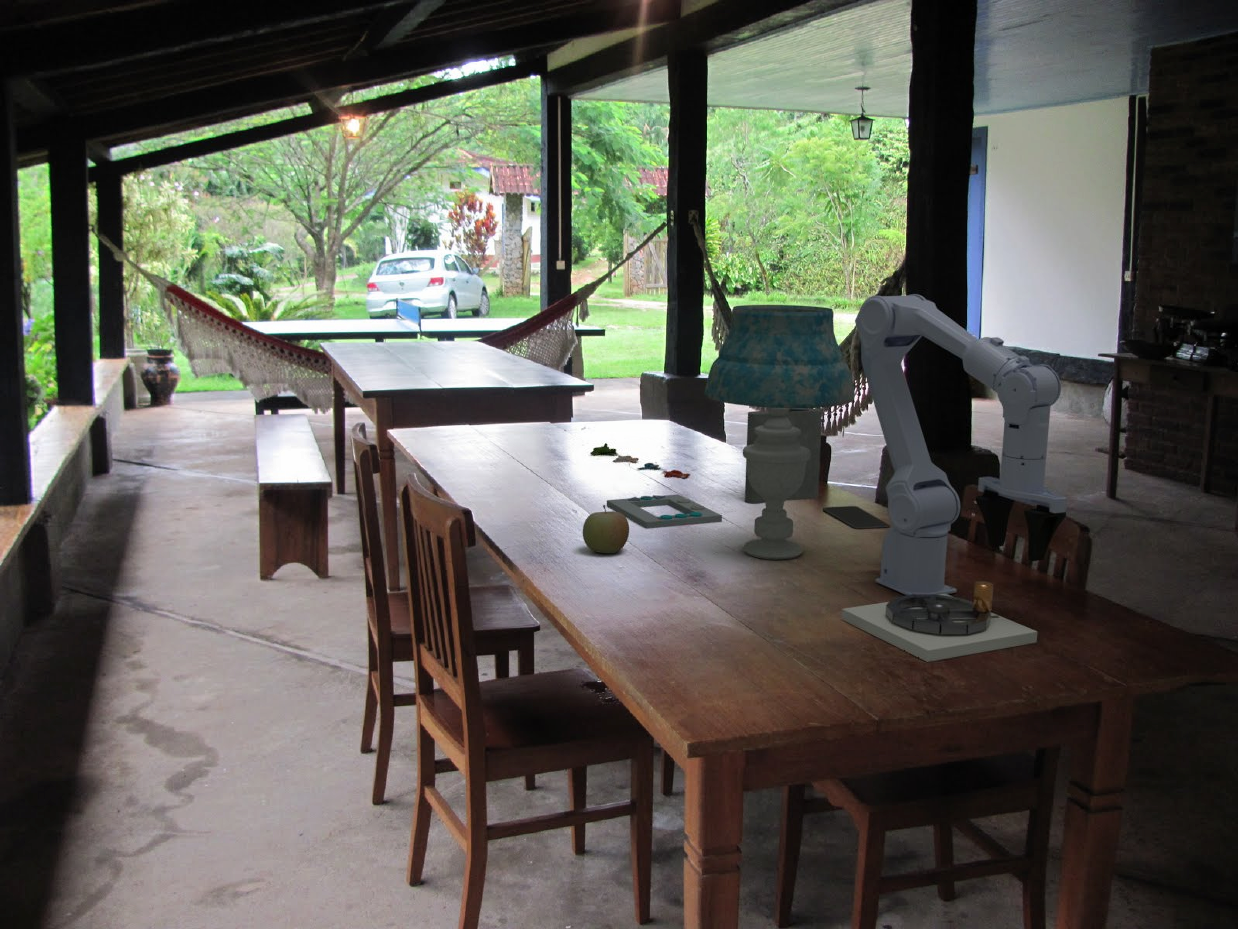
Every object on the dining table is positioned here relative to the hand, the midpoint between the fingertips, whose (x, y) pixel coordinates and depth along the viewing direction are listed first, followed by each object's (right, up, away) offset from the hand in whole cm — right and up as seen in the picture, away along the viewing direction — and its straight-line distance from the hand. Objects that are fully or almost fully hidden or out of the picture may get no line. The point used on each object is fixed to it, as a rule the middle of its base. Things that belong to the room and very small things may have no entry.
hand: (1016, 552), depth 169 cm
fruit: (-56, -2, +33) cm, 65 cm away
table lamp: (-29, -3, +34) cm, 45 cm away
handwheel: (-12, -8, -4) cm, 15 cm away
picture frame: (-46, +2, +59) cm, 75 cm away
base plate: (-12, -10, -4) cm, 16 cm away
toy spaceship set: (-50, +11, +104) cm, 116 cm away
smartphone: (-11, +2, +58) cm, 59 cm away
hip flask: (-23, +5, +73) cm, 76 cm away
